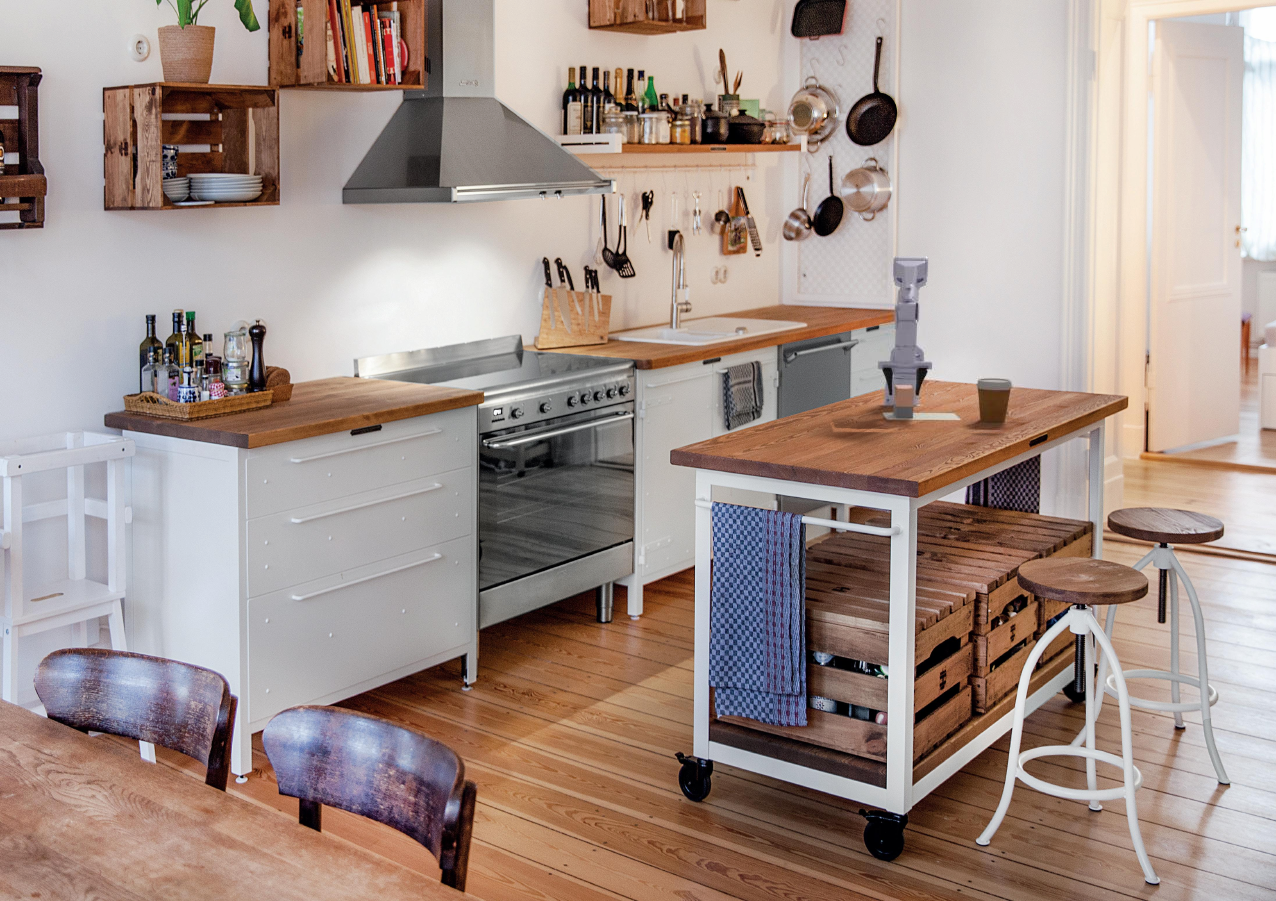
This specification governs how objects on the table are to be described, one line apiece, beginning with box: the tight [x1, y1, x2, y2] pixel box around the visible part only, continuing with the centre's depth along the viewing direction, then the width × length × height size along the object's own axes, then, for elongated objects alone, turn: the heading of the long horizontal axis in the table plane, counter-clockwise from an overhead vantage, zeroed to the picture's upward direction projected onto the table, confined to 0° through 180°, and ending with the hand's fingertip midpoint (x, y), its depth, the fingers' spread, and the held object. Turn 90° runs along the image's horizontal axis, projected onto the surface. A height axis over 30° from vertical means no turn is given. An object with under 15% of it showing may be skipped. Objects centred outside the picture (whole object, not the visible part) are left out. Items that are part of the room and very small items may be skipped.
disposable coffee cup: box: [975, 377, 1013, 423], centre depth 340 cm, size 10×10×12 cm
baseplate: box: [882, 412, 962, 421], centre depth 348 cm, size 20×12×1 cm, turn 85°
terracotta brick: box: [894, 385, 915, 408], centre depth 347 cm, size 4×7×5 cm, turn 175°
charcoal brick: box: [892, 404, 914, 418], centre depth 348 cm, size 4×7×3 cm, turn 175°
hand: (903, 395), depth 347 cm, fingers open, 7 cm apart
